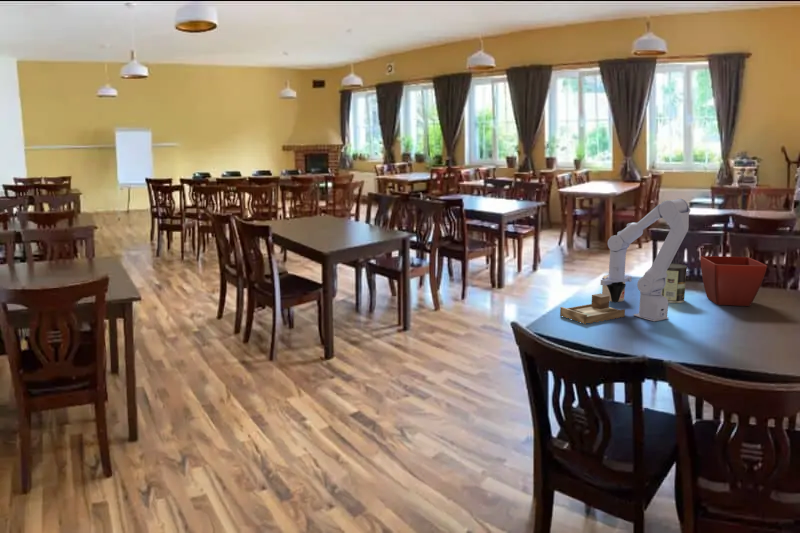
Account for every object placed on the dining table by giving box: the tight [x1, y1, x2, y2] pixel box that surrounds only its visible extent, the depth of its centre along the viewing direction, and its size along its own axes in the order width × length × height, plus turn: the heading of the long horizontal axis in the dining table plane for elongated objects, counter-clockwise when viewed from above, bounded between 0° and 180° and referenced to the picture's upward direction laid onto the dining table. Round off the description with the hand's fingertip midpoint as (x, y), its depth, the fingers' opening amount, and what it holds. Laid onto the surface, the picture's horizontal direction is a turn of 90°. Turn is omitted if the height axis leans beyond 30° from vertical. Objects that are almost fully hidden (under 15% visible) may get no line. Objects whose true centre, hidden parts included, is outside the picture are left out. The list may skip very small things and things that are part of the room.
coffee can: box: [661, 262, 688, 304], centre depth 279 cm, size 10×10×14 cm
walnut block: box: [590, 292, 610, 309], centre depth 261 cm, size 4×4×4 cm
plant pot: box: [699, 255, 768, 307], centre depth 275 cm, size 19×19×17 cm
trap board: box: [559, 303, 626, 325], centre depth 255 cm, size 12×20×4 cm, turn 121°
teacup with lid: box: [601, 273, 626, 303], centre depth 281 cm, size 12×9×12 cm
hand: (614, 301), depth 265 cm, fingers closed
